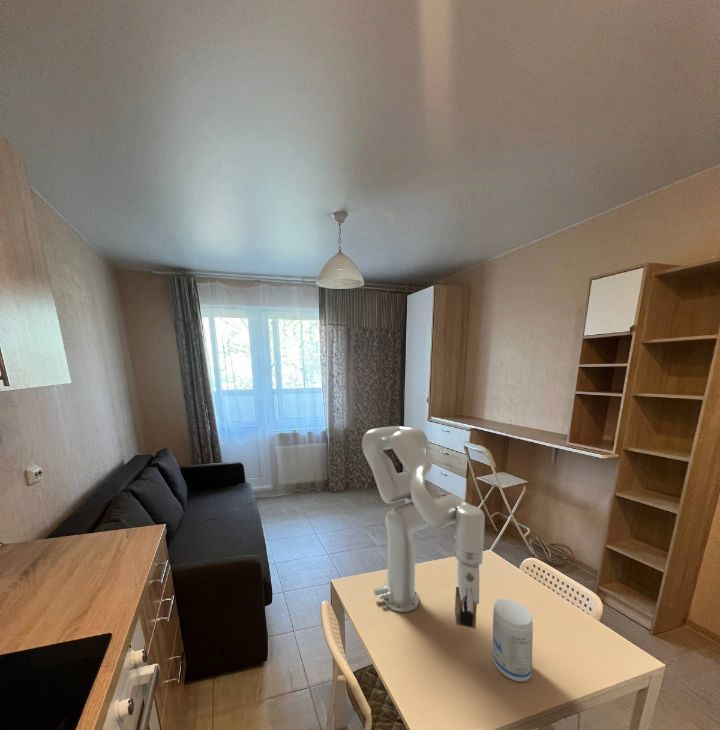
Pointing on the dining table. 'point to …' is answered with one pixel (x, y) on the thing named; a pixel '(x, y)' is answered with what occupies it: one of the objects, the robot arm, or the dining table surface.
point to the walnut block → (458, 608)
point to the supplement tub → (512, 639)
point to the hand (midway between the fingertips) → (464, 615)
